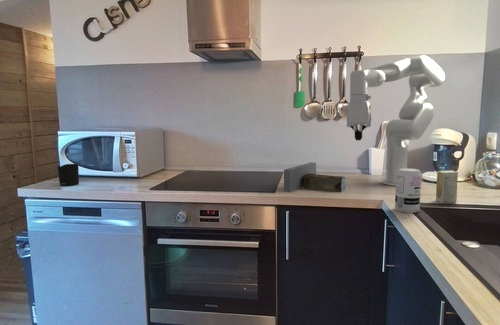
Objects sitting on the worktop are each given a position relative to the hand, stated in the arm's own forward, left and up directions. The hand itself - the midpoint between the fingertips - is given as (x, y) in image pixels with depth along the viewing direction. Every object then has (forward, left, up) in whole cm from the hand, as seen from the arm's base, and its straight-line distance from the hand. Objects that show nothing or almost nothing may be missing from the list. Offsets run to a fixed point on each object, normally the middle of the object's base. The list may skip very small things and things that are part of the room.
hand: (358, 140), depth 163 cm
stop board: (+25, +7, -23) cm, 35 cm away
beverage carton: (+14, +6, -23) cm, 28 cm away
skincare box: (-37, +2, -23) cm, 43 cm away
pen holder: (+125, +66, -23) cm, 144 cm away
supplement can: (-27, +24, -23) cm, 43 cm away
